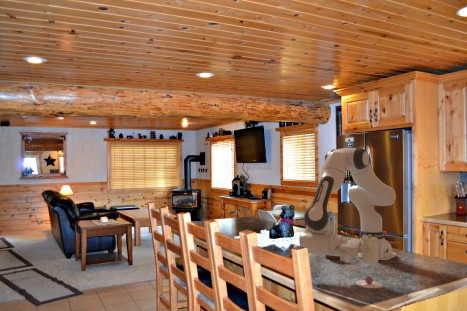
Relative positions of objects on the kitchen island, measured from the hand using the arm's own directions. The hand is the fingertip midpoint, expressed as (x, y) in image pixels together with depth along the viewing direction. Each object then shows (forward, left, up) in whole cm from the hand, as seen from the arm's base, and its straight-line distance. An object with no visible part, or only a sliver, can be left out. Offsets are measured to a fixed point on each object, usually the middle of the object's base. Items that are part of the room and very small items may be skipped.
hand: (371, 248), depth 170 cm
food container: (-25, -41, -16) cm, 50 cm away
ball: (0, -1, -15) cm, 15 cm away
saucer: (0, -1, -16) cm, 16 cm away
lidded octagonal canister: (0, 0, -6) cm, 6 cm away
